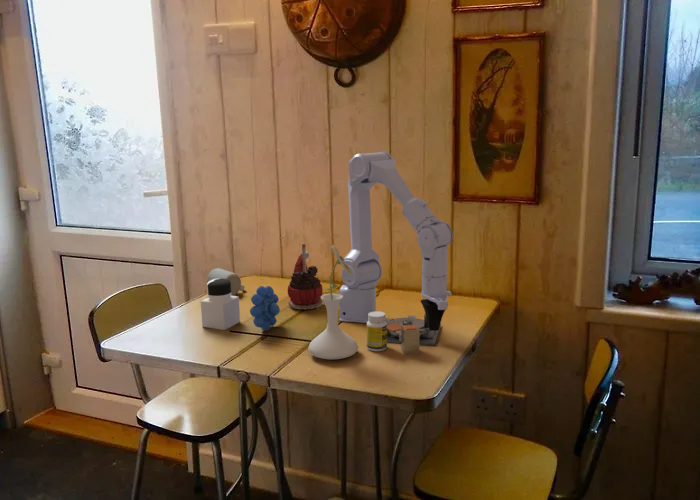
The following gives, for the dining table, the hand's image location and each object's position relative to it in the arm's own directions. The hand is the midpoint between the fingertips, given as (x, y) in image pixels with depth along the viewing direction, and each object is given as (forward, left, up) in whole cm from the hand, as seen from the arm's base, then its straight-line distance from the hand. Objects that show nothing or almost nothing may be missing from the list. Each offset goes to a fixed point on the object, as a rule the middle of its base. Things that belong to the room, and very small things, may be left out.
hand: (433, 329), depth 155 cm
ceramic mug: (-66, +28, -3) cm, 71 cm away
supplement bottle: (-12, -7, -3) cm, 15 cm away
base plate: (-7, +4, -3) cm, 9 cm away
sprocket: (-7, +4, -3) cm, 9 cm away
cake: (-38, +20, -3) cm, 43 cm away
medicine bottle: (-55, +1, -3) cm, 56 cm away
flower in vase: (-21, -12, -3) cm, 25 cm away
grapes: (-41, -1, -3) cm, 42 cm away
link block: (-4, -8, -3) cm, 10 cm away
